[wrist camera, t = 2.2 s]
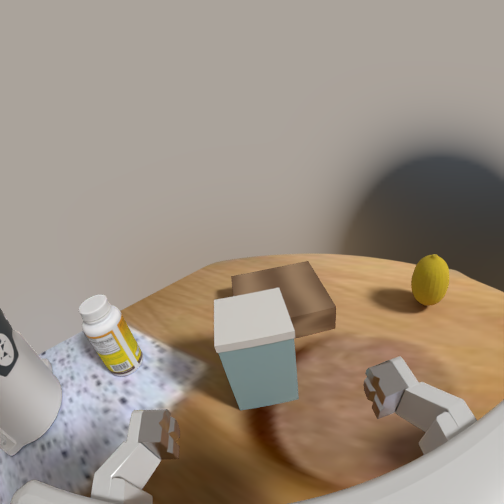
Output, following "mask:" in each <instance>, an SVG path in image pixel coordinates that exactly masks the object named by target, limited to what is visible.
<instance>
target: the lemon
mask: <svg viewBox="0 0 504 504" xmlns="http://www.w3.org/2000/svg"><path fill="white" fill-rule="evenodd" d="M411 285H412V293H413V295H414V297H415V299H416V300H417V301H418V302H419V303H421V304H423V305H425V306H427V305H434V304H436V303H438V302H439V301H440V300H441V299H442V298H443V297H444V295H445V293H446V291H447V288H448V285H449V269H448V266H447V264H446V263H445V261H444V260H443V259H442V258H440V257H439V256H437V255H436V254H433V255H429V256H426V257H424V258H422V259H421V260H420V261H419V263H418V264H417V265H416V267H415V270H414V273H413V276H412V282H411Z"/></svg>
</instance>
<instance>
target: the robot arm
mask: <svg viewBox="0 0 504 504" xmlns="http://www.w3.org/2000/svg"><path fill="white" fill-rule="evenodd" d="M366 375H367V378H366V379H365V380H364V391H365V394H366V396H367V399H368V400H370V401H372V402H373V405H372V409H373V411H374V413H375V415H376V417H377V419H379V418H382V417H384V416H387V415H390V414H392V413H394V412H395V413H396V414H397V415H399V416H400V417H402V418H404V419H405V420H407V421H408V422H410V423H411V424H413V425H415V426H416V427H418V428H420V429H421V430H423V431H424V432H426V433H425V434H424V436H423V437H422V438H421V440H420V441H419V443H418V444H419V446H420V448H421V450H422V452H423V454H424V455H423V456H421V457H419V458H418V459H416V460H414V461H412V462H410V463H408V464H406V465H404V466H402V467H399V468H397V469H395V470H393V471H391V472H389V473H386V474H384V475H382V476H379V477H377V478H374V479H372V480H369V481H367V482H364V483H361V484H358V485H356V486H353V487H350V488H347V489H344V490H341V491H337V492H334V493H331V494H327V495H324V496H320V497H316V498H312V499H308V500H304V501H299V502H294V503H289V504H504V399H503V400H502V401H501V402H500V403H499V404H498V405H496V406H495V407H494V408H493V409H492V410H490V411H489V412H488V413H487V414H485V415H484V416H483V417H482V418H480V419H479V420H478V421H477V420H476V418H475V417H474V415H473V413H472V412H471V410H470V409H469V407H468V406H467V404H466V403H465V401H464V400H463V399H461V398H458V397H456V396H453V395H451V394H449V393H446V392H444V391H442V390H439V389H437V388H435V387H433V386H430V385H428V384H426V383H424V382H420V383H419V382H418V381H417V379H416V378H415V376H414V375H413V373H412V372H411V370H410V369H409V367H408V366H407V364H406V363H405V361H404V360H403V359H402V358H401V357H400V356H399V357H396V358H393V359H391V360H388V361H385V362H383V363H380V364H378V365H375V366H373V367H370V368H368V369H367V370H366ZM61 399H62V389H61V385H60V382H59V380H58V379H57V378H56V377H55V375H54V374H53V372H52V365H51V363H50V362H49V361H48V360H47V359H41V358H40V357H39V356H38V354H37V353H36V352H35V351H34V350H33V348H32V347H31V346H30V345H29V343H28V342H27V341H26V340H25V338H24V337H23V336H22V334H21V333H19V332H18V331H12V327H11V325H10V324H9V322H8V320H7V318H6V316H5V314H4V313H3V312H2V310H1V309H0V448H1V449H2V450H4V451H5V452H6V453H7V454H8V455H10V456H13V455H15V454H16V453H17V452H18V451H19V450H20V449H21V448H22V447H23V446H25V445H26V444H29V443H31V442H33V441H35V440H37V439H38V438H40V437H41V436H42V435H43V434H44V433H45V432H46V431H47V430H48V429H49V428H50V426H51V425H52V423H53V422H54V420H55V418H56V416H57V414H58V411H59V408H60V405H61ZM170 415H171V413H170V412H169V411H168V410H167V409H164V410H134V411H133V412H132V414H131V419H130V424H129V430H128V435H127V441H126V442H123V443H122V444H121V445H120V446H119V447H118V448H117V450H116V451H115V452H114V453H113V454H112V455H111V456H110V457H109V458H108V459H107V460H106V462H105V463H104V464H103V465H102V466H101V467H100V468H99V469H98V470H97V471H96V472H95V473H94V479H93V485H92V492H91V498H89V497H85V496H81V495H78V494H75V493H71V492H68V491H65V490H62V489H59V488H56V487H54V486H51V485H48V484H46V483H43V482H40V481H38V480H30V481H29V482H27V483H26V484H25V485H23V486H22V487H21V488H20V489H19V490H17V491H16V492H15V494H14V495H13V497H12V500H11V503H10V504H153V497H152V496H151V495H150V494H148V493H147V492H145V491H143V490H142V489H143V487H144V486H145V484H146V483H147V481H148V480H149V478H150V477H151V475H152V474H153V472H154V471H155V469H156V468H157V466H158V465H159V463H160V461H161V460H164V459H179V445H178V444H177V443H176V442H177V440H178V439H179V438H180V430H179V425H178V423H177V421H176V420H175V418H172V417H170Z"/></svg>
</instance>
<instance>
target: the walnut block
mask: <svg viewBox="0 0 504 504" xmlns="http://www.w3.org/2000/svg"><path fill="white" fill-rule="evenodd" d="M231 278H232V288H233V296H238V295H244V294H249V293H254V292H259V291H264V290H269V289H274V288H279V289H280V291H281V294H282V297H283V300H284V302H285V305H286V308H287V311H288V313H289V316H290V319H291V322H292V324H293V327H294V330H295V338H299V337H303V336H308V335H312V334H316V333H320V332H324V331H327V330H331V329H335V321H336V306H335V304H334V303H333V301H332V299H331V298H330V296H329V294H328V293H327V291H326V289H325V288H324V286H323V285H322V283H321V281H320V280H319V278H318V276H317V275H316V273H315V272H314V270H313V268H312V267H311V265H310V264H309V262H308V261H306V262H301V263H296V264H292V265H287V266H282V267H277V268H272V269H267V270H262V271H257V272H252V273H246V274H241V275H236V276H231ZM295 338H294V339H295Z"/></svg>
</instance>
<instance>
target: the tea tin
mask: <svg viewBox="0 0 504 504" xmlns="http://www.w3.org/2000/svg"><path fill="white" fill-rule="evenodd" d="M294 338H295V330H294V327H293V324H292V322H291V319H290V316H289V313H288V311H287V308H286V305H285V302H284V300H283V297H282V294H281V291H280V289H279V288H274V289H269V290H264V291H259V292H254V293H249V294H244V295H238V296H233V297H228V298H222V299H217V300H214V347H215V349H216V352H217V353H219V356H220V359H221V361H222V364H223V367H224V370H225V372H226V375H227V378H228V380H229V383H230V385H231V388H232V391H233V393H234V396H235V398H236V401H237V403H238V406H239V408H240V410H246V409H252V408H258V407H263V406H269V405H274V404H279V403H283V402H288V401H292V400H297V399H299V398H298V383H297V370H296V357H295V345H294Z"/></svg>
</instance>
